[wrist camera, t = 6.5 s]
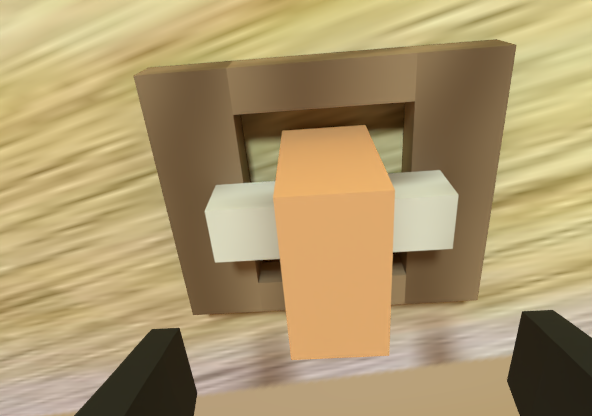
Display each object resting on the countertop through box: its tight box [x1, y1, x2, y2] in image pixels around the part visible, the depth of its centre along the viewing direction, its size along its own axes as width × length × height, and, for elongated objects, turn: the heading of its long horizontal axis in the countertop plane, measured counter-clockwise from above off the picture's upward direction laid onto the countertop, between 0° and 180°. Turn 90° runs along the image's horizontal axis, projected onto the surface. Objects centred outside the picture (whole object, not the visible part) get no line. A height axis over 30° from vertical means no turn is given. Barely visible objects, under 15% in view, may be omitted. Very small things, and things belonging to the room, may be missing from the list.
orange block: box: [273, 125, 395, 360], centre depth 14 cm, size 3×6×6 cm, turn 4°
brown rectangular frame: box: [134, 39, 516, 315], centre depth 15 cm, size 12×10×4 cm
